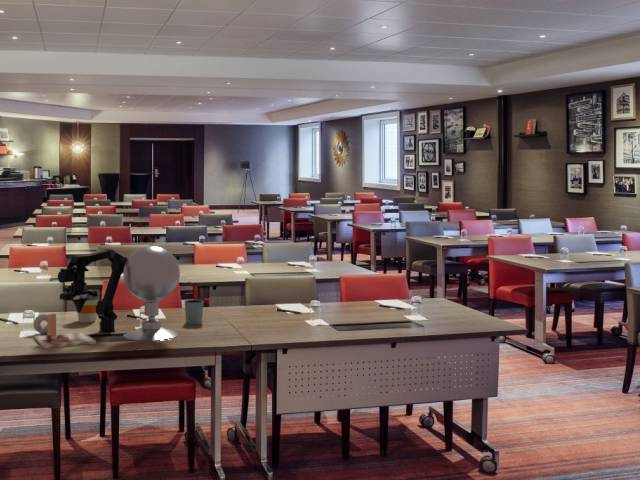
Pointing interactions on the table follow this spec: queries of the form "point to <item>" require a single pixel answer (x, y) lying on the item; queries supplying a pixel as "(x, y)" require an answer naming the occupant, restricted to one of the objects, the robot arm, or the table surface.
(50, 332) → the pink l-shaped piece
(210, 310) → the table surface
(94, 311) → the reusable coffee cup
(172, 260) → the desk lamp
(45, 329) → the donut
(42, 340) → the board
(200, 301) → the grey-green tapered cup
